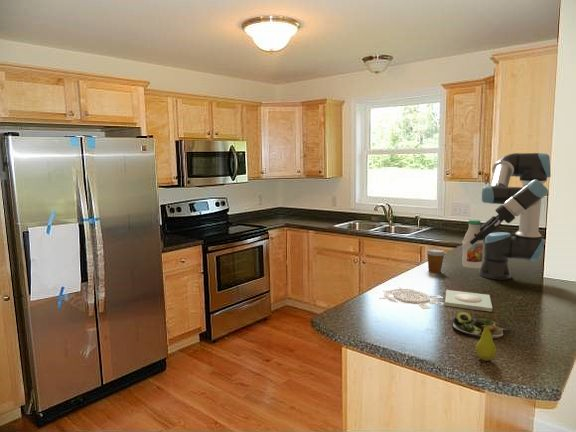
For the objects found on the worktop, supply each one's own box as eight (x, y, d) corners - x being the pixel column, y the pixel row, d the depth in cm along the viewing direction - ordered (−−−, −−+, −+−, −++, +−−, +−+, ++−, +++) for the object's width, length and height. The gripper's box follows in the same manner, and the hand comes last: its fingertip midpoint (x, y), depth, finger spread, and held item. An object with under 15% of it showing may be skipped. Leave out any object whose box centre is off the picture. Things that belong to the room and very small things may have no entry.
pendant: (392, 286, 200) (392, 284, 199) (451, 299, 182) (451, 296, 182) (372, 298, 183) (372, 295, 183) (434, 312, 166) (435, 309, 166)
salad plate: (507, 325, 153) (508, 313, 153) (514, 344, 137) (515, 331, 136) (452, 317, 161) (452, 306, 160) (452, 335, 144) (452, 322, 144)
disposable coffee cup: (436, 268, 231) (437, 248, 230) (447, 273, 223) (448, 251, 221) (421, 270, 228) (423, 249, 227) (433, 274, 220) (434, 252, 218)
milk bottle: (459, 266, 175) (462, 220, 172) (465, 263, 180) (468, 218, 178) (478, 269, 169) (481, 222, 167) (484, 266, 175) (487, 220, 172)
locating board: (446, 292, 189) (446, 289, 189) (489, 298, 182) (489, 294, 182) (444, 305, 173) (445, 301, 172) (492, 311, 166) (492, 307, 165)
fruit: (492, 366, 121) (495, 328, 120) (472, 360, 125) (474, 322, 124) (497, 359, 126) (500, 322, 124) (478, 353, 130) (480, 317, 128)
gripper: (519, 220, 157) (471, 257, 165) (513, 214, 175) (469, 248, 184) (505, 206, 158) (457, 244, 166) (500, 201, 177) (457, 235, 185)
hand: (464, 246), depth 175 cm, fingers closed on milk bottle, 7 cm apart
